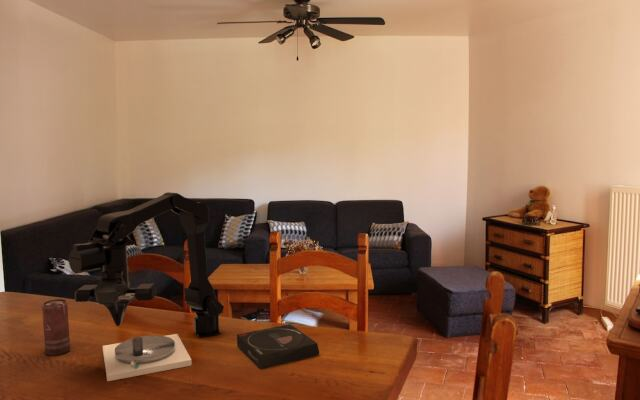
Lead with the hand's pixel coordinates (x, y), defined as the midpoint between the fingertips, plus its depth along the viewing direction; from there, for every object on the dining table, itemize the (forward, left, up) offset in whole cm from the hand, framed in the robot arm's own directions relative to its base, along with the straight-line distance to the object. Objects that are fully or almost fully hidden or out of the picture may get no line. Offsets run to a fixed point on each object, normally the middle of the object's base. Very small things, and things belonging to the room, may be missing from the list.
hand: (118, 325), depth 130 cm
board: (-6, -2, -11) cm, 13 cm away
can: (+15, -17, -11) cm, 25 cm away
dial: (-6, -2, -9) cm, 11 cm away
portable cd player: (-39, +9, -12) cm, 42 cm away
